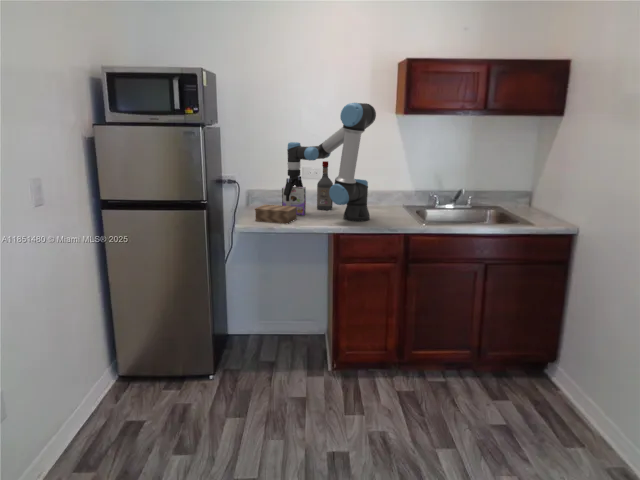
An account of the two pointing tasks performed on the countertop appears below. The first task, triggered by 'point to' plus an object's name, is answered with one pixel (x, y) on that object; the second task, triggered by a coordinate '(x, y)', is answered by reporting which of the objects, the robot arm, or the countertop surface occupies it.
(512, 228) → the countertop surface
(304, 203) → the candy box
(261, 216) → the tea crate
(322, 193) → the liquor
